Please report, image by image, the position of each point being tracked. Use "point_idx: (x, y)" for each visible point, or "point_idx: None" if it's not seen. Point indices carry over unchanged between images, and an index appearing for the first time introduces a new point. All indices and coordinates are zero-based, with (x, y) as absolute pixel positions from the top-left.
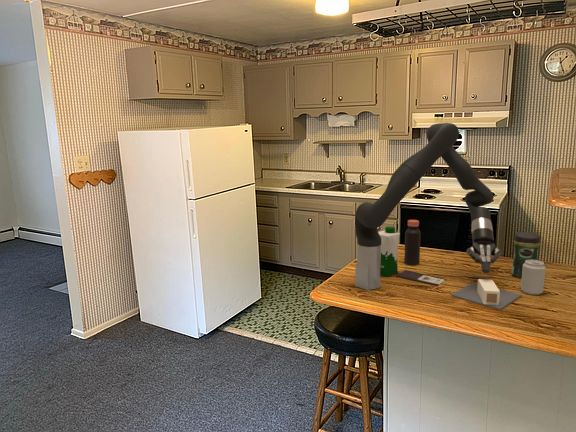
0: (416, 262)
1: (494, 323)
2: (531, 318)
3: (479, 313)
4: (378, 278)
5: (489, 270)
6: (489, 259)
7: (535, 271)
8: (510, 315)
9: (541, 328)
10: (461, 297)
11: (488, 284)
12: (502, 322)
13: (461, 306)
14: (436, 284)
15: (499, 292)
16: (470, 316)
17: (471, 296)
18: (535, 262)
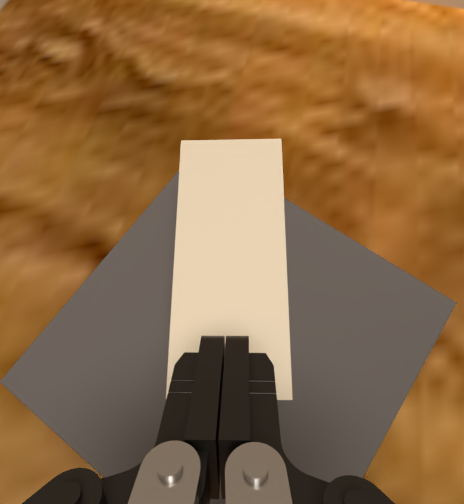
0: None
1: (259, 27)
2: (89, 95)
3: (306, 103)
4: None
5: (191, 358)
6: (145, 490)
7: None
8: (170, 108)
9: (91, 22)
10: (389, 262)
11: (227, 266)
12: (224, 41)
13: (386, 164)
14: None
15: (185, 144)
16: (349, 68)
17: (327, 292)
18: None
